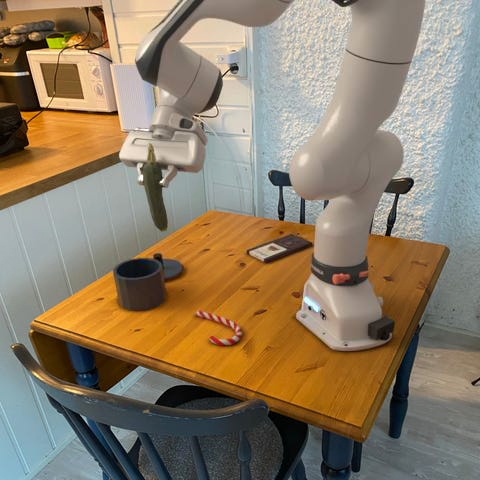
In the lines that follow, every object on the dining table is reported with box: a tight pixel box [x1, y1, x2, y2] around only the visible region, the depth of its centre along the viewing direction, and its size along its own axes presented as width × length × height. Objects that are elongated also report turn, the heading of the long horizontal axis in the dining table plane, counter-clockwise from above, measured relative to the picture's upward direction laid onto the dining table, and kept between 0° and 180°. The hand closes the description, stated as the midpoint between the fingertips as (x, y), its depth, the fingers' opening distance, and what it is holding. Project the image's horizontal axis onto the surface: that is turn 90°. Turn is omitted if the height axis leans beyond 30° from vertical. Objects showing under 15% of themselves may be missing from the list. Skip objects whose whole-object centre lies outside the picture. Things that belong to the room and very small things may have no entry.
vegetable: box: [143, 143, 169, 233], centre depth 105 cm, size 4×4×20 cm
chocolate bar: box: [246, 233, 313, 264], centre depth 138 cm, size 9×1×18 cm
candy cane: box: [195, 310, 243, 346], centre depth 104 cm, size 8×1×15 cm
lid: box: [152, 252, 184, 281], centre depth 127 cm, size 13×13×5 cm
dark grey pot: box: [112, 257, 167, 312], centre depth 114 cm, size 12×12×8 cm
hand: (152, 185), depth 104 cm, fingers closed on vegetable, 4 cm apart
